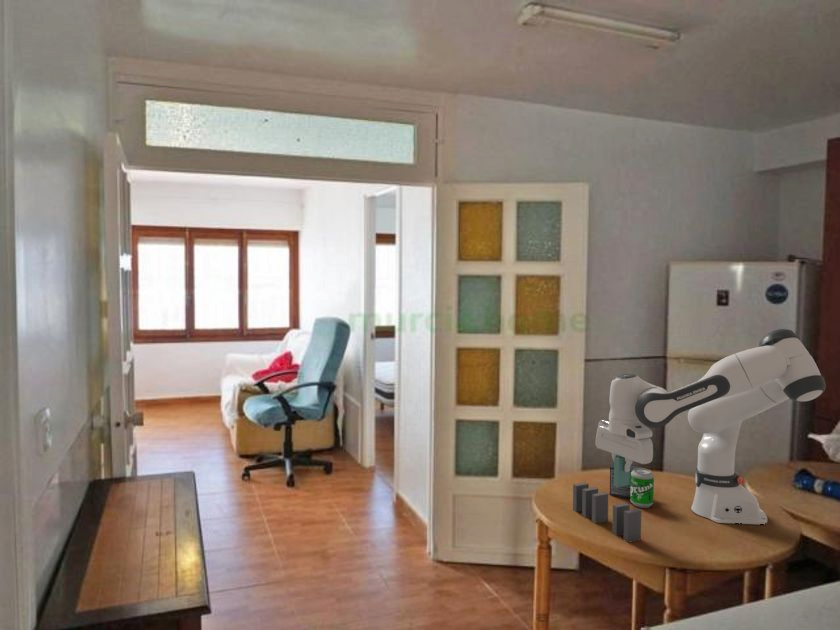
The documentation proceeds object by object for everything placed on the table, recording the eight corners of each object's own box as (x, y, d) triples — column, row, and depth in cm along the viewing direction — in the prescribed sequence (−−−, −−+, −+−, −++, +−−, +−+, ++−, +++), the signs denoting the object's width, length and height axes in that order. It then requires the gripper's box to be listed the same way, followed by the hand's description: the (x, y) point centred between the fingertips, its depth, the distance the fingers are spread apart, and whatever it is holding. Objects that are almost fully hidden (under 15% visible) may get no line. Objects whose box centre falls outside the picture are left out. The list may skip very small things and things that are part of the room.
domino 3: (591, 521, 196) (592, 494, 195) (604, 518, 197) (604, 492, 197) (595, 523, 194) (595, 496, 193) (607, 520, 196) (608, 493, 195)
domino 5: (612, 533, 186) (612, 505, 186) (625, 530, 188) (625, 502, 188) (616, 535, 185) (616, 507, 184) (629, 533, 187) (629, 504, 186)
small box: (643, 495, 218) (643, 466, 218) (639, 500, 213) (639, 471, 212) (613, 489, 224) (614, 462, 223) (608, 495, 218) (609, 466, 218)
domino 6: (623, 540, 182) (624, 511, 181) (636, 537, 184) (637, 508, 183) (627, 542, 180) (628, 513, 179) (640, 539, 182) (641, 510, 181)
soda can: (631, 499, 214) (632, 466, 213) (654, 502, 211) (654, 469, 210) (628, 506, 207) (629, 472, 207) (652, 510, 204) (652, 475, 203)
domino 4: (613, 485, 187) (614, 457, 187) (624, 482, 190) (625, 455, 189) (617, 487, 186) (618, 459, 185) (629, 484, 188) (630, 456, 187)
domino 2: (582, 515, 200) (582, 489, 200) (594, 513, 202) (594, 487, 201) (585, 517, 198) (585, 491, 198) (597, 515, 200) (598, 488, 200)
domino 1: (572, 510, 205) (573, 484, 204) (585, 507, 207) (585, 482, 206) (576, 512, 203) (576, 486, 202) (588, 509, 205) (588, 484, 204)
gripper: (591, 419, 194) (590, 461, 195) (642, 435, 176) (640, 481, 177) (605, 417, 197) (604, 458, 198) (657, 432, 179) (655, 478, 180)
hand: (622, 469), depth 187 cm, fingers closed on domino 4, 2 cm apart
